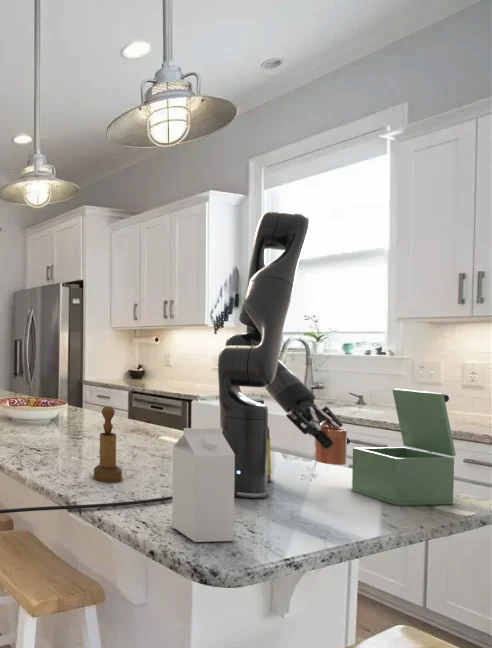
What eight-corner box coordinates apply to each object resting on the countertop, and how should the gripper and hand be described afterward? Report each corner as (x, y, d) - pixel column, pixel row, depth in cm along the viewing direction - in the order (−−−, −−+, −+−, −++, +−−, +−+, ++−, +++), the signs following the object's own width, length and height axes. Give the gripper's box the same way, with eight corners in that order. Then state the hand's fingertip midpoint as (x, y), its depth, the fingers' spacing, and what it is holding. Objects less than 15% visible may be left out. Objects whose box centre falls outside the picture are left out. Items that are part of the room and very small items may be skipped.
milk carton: (171, 527, 92) (172, 424, 92) (208, 526, 93) (209, 424, 92) (194, 543, 85) (195, 432, 85) (234, 541, 86) (235, 431, 85)
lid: (440, 394, 104) (461, 389, 104) (392, 389, 115) (411, 384, 115) (452, 456, 105) (473, 451, 105) (403, 445, 115) (422, 440, 115)
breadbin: (396, 505, 104) (397, 458, 104) (351, 490, 115) (352, 447, 115) (453, 504, 105) (454, 457, 105) (404, 489, 116) (404, 446, 115)
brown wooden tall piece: (95, 481, 122) (96, 407, 122) (92, 474, 129) (92, 404, 128) (124, 482, 121) (124, 408, 121) (119, 475, 127) (119, 405, 127)
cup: (328, 465, 117) (329, 431, 117) (308, 458, 123) (308, 426, 123) (353, 464, 117) (353, 430, 117) (331, 458, 124) (332, 426, 123)
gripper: (280, 382, 124) (332, 438, 113) (316, 380, 130) (369, 434, 119) (259, 401, 129) (307, 456, 118) (295, 398, 135) (343, 451, 124)
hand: (338, 445), depth 119 cm, fingers closed on cup, 6 cm apart
